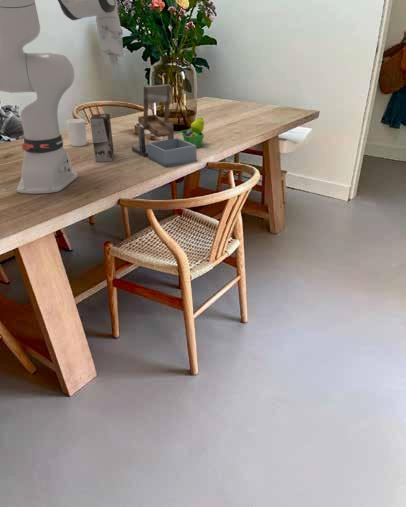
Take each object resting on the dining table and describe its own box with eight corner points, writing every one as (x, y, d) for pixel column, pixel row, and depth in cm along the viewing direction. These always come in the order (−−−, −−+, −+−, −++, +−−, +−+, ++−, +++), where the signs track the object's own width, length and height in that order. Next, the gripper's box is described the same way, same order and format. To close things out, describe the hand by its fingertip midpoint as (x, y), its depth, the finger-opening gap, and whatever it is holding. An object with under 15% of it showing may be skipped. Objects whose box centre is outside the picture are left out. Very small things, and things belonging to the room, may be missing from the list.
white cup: (83, 147, 180) (79, 123, 175) (66, 146, 182) (62, 122, 177) (91, 142, 187) (88, 119, 182) (74, 141, 188) (71, 118, 184)
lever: (135, 123, 171) (135, 80, 161) (158, 120, 176) (159, 78, 166) (152, 138, 162) (153, 93, 151) (176, 134, 167) (178, 90, 156)
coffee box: (112, 161, 163) (107, 118, 155) (95, 162, 162) (89, 118, 154) (114, 154, 171) (110, 113, 163) (98, 155, 170) (93, 113, 162)
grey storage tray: (148, 158, 166) (147, 143, 163) (178, 152, 172) (177, 137, 169) (165, 167, 156) (164, 151, 153) (196, 161, 162) (196, 145, 160)
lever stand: (132, 150, 175) (129, 124, 170) (164, 145, 182) (162, 119, 177) (144, 157, 167) (142, 129, 162) (177, 151, 174) (176, 124, 169)
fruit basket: (181, 142, 187) (180, 115, 181) (200, 140, 189) (200, 114, 183) (186, 149, 177) (186, 121, 171) (207, 147, 179) (207, 120, 173)
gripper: (109, 23, 152) (116, 65, 157) (123, 31, 171) (128, 68, 176) (92, 25, 153) (99, 67, 157) (108, 33, 172) (114, 70, 176)
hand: (115, 67), depth 167 cm, fingers closed
